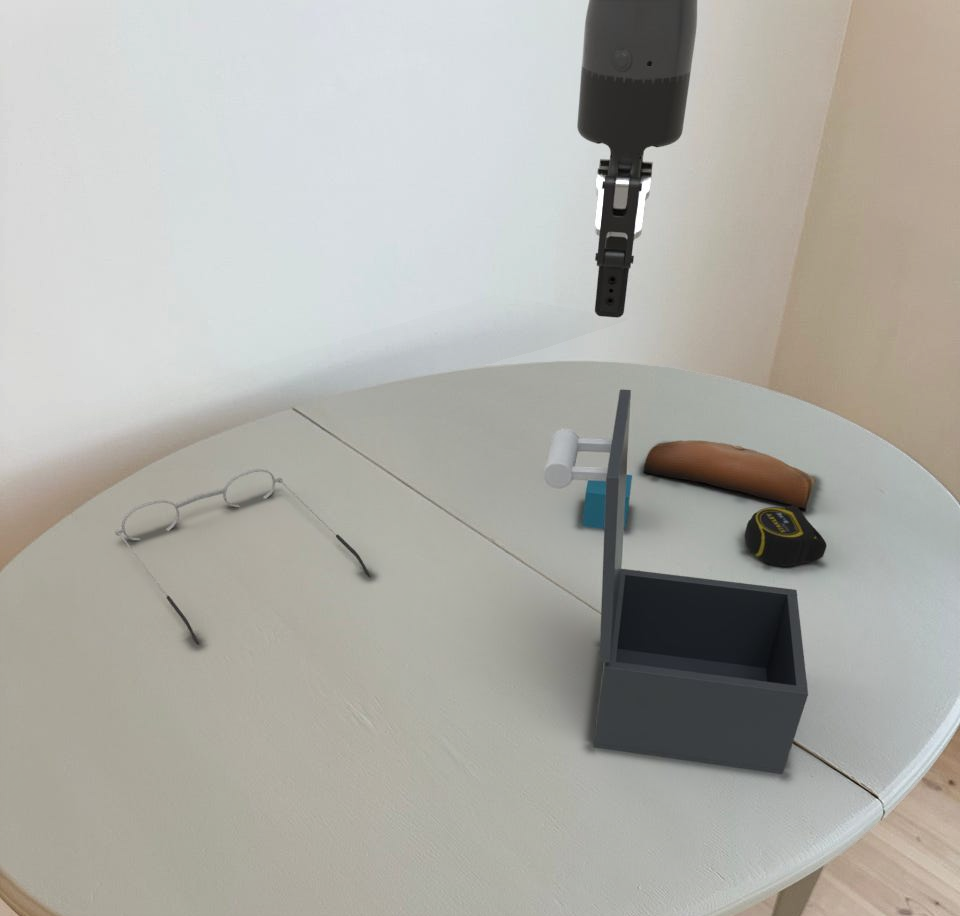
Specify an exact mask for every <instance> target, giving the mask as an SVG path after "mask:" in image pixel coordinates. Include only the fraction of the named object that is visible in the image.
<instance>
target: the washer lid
mask: <svg viewBox="0 0 960 916" xmlns="http://www.w3.org/2000/svg"><path fill="white" fill-rule="evenodd" d="M631 394H632V389H619V392H618V399H617V405H616V412H615V417H614V425H613V431H612V437H611V439H609V438H607V439H606V438H586V437H585V438H583V437H581V438H580V437H579V435H578V434H577V432H576V431H575V430H573V429H570V428H561V429H557V431H555V432H554V433H553V435H552V438H551V441H550V445H549V448H548V453H547V457H546V462H545V465H544V469H543V475H542V476H543V479H544V481H545V483H546V484H547V485H548V486H550V487H552V488H554V489H563V488H566V487H568V486H569V485H570V484H571V482H572V481H588V480H590V481H606V498H605V524H604V529H603V553H602V583H601V604H600V605H601V607H600V633H599V638H600V639H599V658H598V659H599V663H604V662H609V663H610V661H611V652H612V644H613V635H614V627H615V618H616V609H617V601H618V592H619V584H620V575H621V569H622V565H623V547H624V532H625V531H624V513H625V494H626V475H628V474H627V473H628V472H627V471H628V456H629V455H628V453H629V452H628V451H629V435H630V434H629V433H630V417H631V416H630V414H631V397H632V395H631ZM579 452H587V453H588V452H589V453H591V452H592V453H609V457H608V464H607V467H597V466H576V463H577V459H578V458H577V457H578V453H579Z"/></svg>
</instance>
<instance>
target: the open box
mask: <svg viewBox="0 0 960 916" xmlns="http://www.w3.org/2000/svg"><path fill="white" fill-rule="evenodd" d="M798 600H799V599H798V591H797V589H795V588H794V589H793V588H784V587H775V586H768V585H760V584H753V583H743V582H735V581H727V580H721V579H719V580H718V579H711V578H703V577H702V578H701V577H694V576H685V575H679V574H677V575H676V574H670V573H669V574H668V573H662V572H661V573H660V572H652V571H643V570H636V569H627V568H621V575H620V584H619V592H618V601H617V609H616V618H615V627H614V635H613V644H612V652H611V661H610V663H609V662H603V665H602V673H601V681H600V688H599V697H598V706H597V713H596V721H595V729H594V737H593V746H592V747H593V748H594V749H595V748H596V749H602V750H610V751H617V752H622V753H623V752H624V753H631V754H637V755H645V756H652V757H658V758H665V759H674V760H679V761H686V762H693V763H700V764H701V763H702V764H708V765H715V766H722V767H729V768H735V769H742V770H749V771H757V772H763V773H770V774H777V775H783V773H784V770H785V767H786V764H787V761H788V758H789V755H790V752H791V749H792V746H793V743H794V740H795V736H796V733H797V731H798V727H799V724H800V722H801V718H802V715H803V712H804V709H805V706H806V703H807V699H808V698H809V697H808V696H809V688H808V680H807V672H806V662H805V661H806V660H805V654H804V646H803V637H802V636H803V634H802V626H801V617H800V609H799V601H798Z"/></svg>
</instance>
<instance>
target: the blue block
mask: <svg viewBox="0 0 960 916" xmlns="http://www.w3.org/2000/svg"><path fill="white" fill-rule="evenodd" d="M632 480H633V475H632V474H627V475H626V494H625V513H624V532H625V531H626V526H627V520H628V512H629V504H630V497H631V489H632ZM605 498H606V481H590V480H587V482H586V489H585V494H584V504H583V515H582V524H581V526H582V527H588V528H595V529H603V530H604V524H605Z"/></svg>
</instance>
